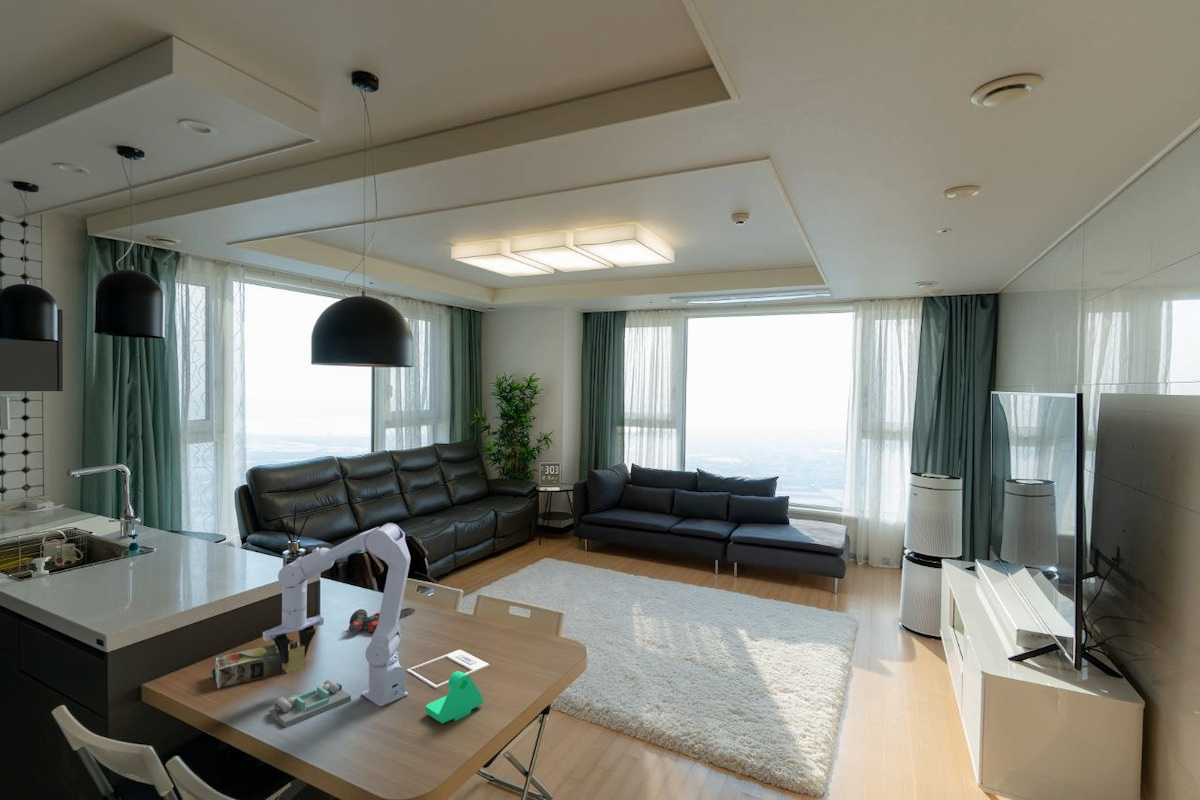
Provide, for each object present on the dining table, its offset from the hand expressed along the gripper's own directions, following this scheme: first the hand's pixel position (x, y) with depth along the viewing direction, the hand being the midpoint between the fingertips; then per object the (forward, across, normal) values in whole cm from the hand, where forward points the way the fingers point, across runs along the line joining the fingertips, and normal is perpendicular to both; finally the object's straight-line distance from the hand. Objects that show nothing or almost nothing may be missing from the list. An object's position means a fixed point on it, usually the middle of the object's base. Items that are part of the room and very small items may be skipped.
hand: (293, 659), depth 150 cm
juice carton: (+9, +2, -20) cm, 22 cm away
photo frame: (+10, -35, +19) cm, 41 cm away
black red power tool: (+10, -40, -23) cm, 47 cm away
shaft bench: (+9, 0, +10) cm, 14 cm away
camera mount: (+9, -22, +39) cm, 46 cm away
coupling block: (+2, 0, 0) cm, 3 cm away
